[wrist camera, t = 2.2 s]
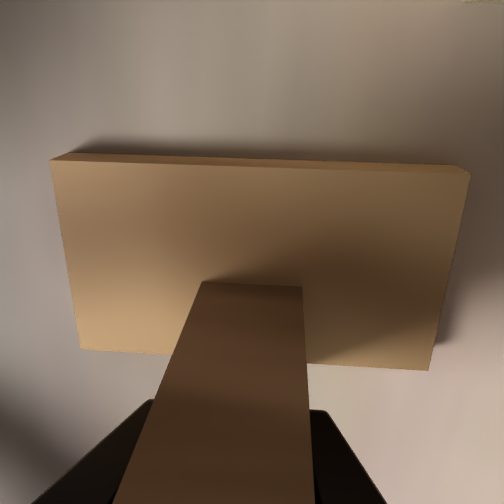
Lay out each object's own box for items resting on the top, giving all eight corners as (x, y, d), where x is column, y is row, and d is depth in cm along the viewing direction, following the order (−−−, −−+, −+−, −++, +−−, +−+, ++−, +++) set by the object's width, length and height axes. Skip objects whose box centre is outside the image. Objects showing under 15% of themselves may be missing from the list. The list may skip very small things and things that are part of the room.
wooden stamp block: (416, 353, 12) (700, 995, 4) (97, 334, 13) (-271, 849, 4) (454, 164, 10) (1273, 661, 2) (70, 151, 10) (-735, 473, 2)
